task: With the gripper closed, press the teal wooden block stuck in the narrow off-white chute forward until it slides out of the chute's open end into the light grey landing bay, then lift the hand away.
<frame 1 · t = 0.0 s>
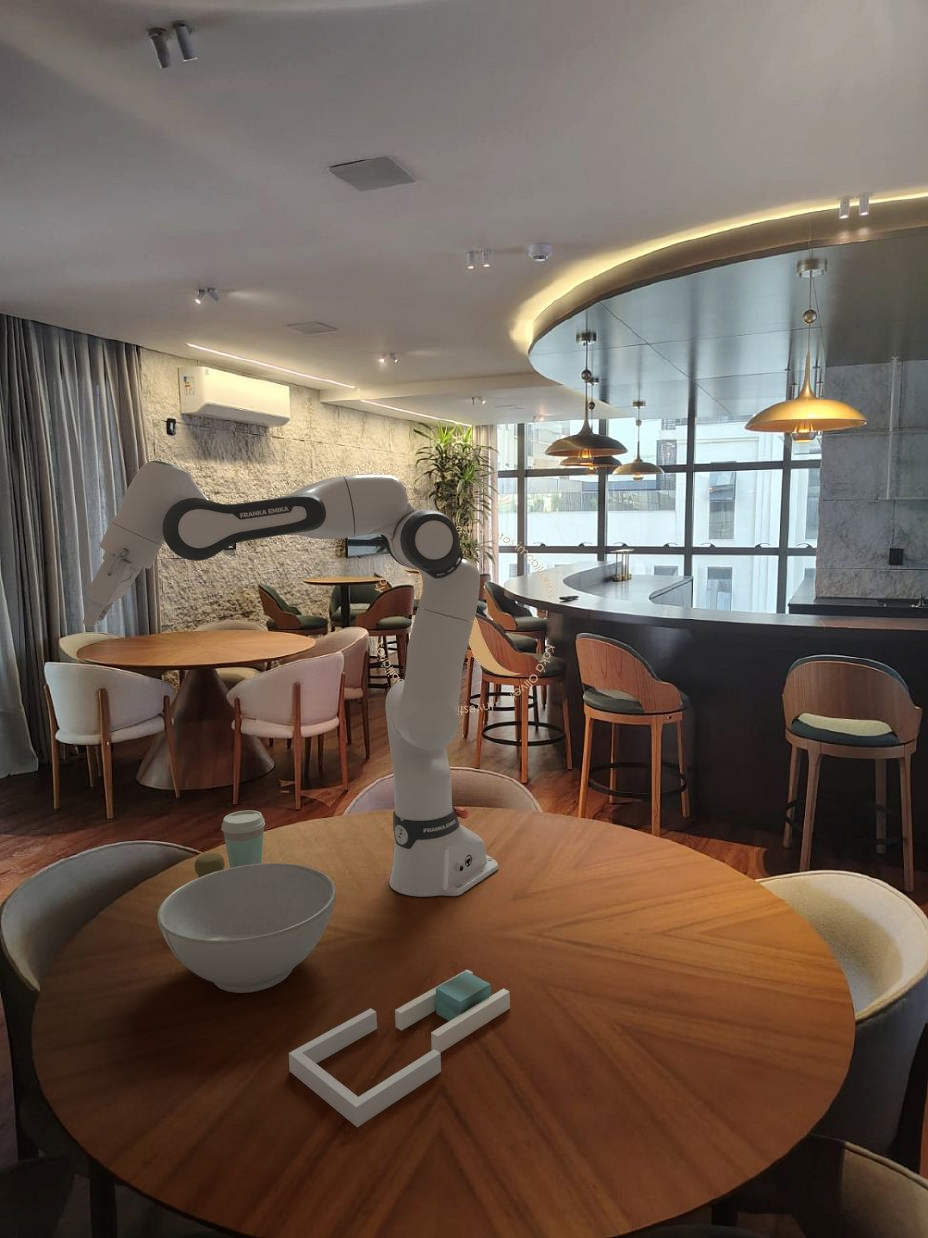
hand: (92, 622, 137), 54 cm above the table, tool tilted 30°, fingers open, 8 cm apart
teal block: (464, 1012, 115), on the table
coffee cup: (246, 874, 164), on the table
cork: (213, 914, 148), on the table
landing bay: (368, 1069, 104), on the table
decorative bowl: (253, 972, 128), on the table
chute: (453, 1017, 114), on the table
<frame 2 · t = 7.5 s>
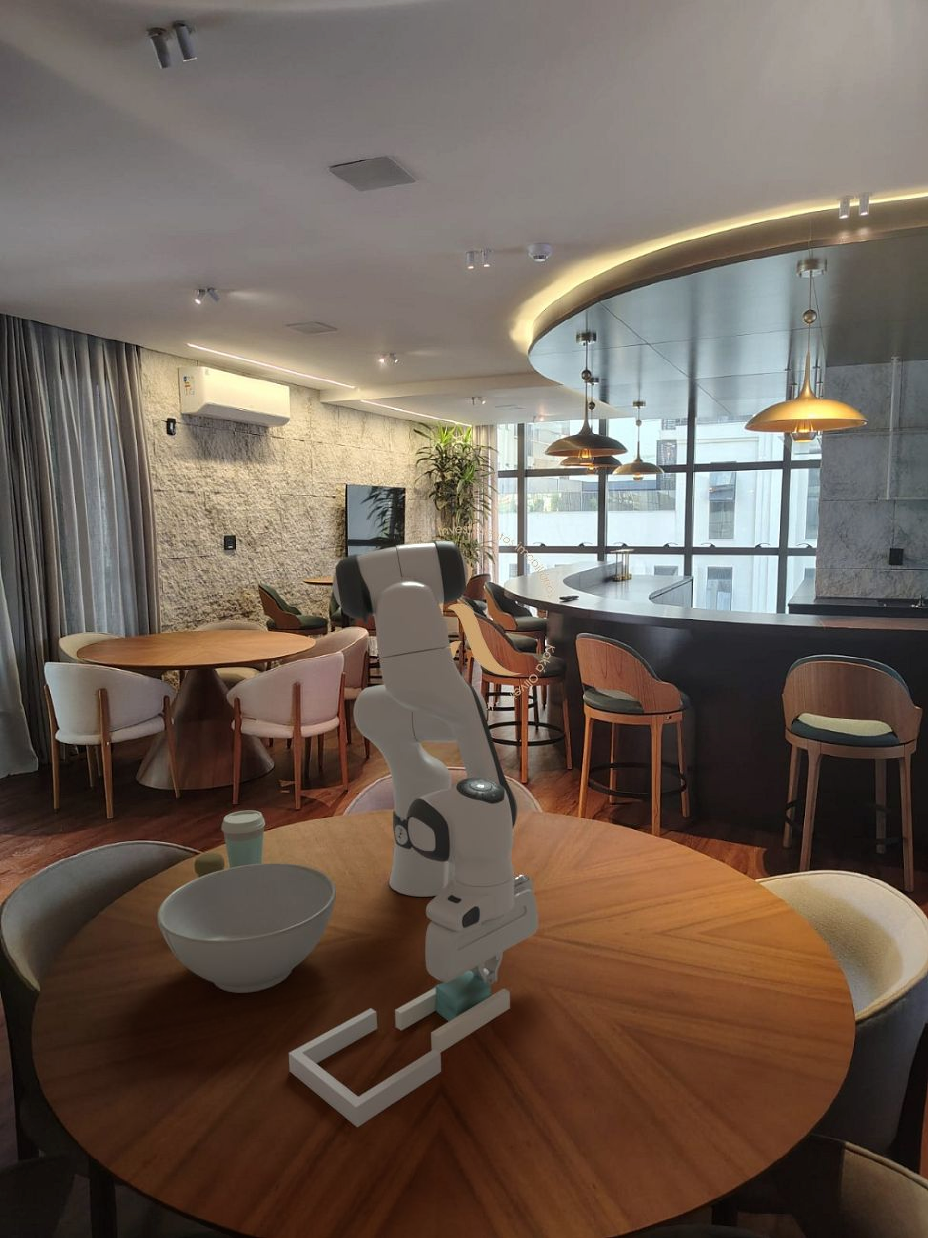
hand: (486, 984, 118), 2 cm above the table, tool pointing down, fingers closed
teal block: (463, 1012, 115), on the table, touching gripper
everything else where it was.
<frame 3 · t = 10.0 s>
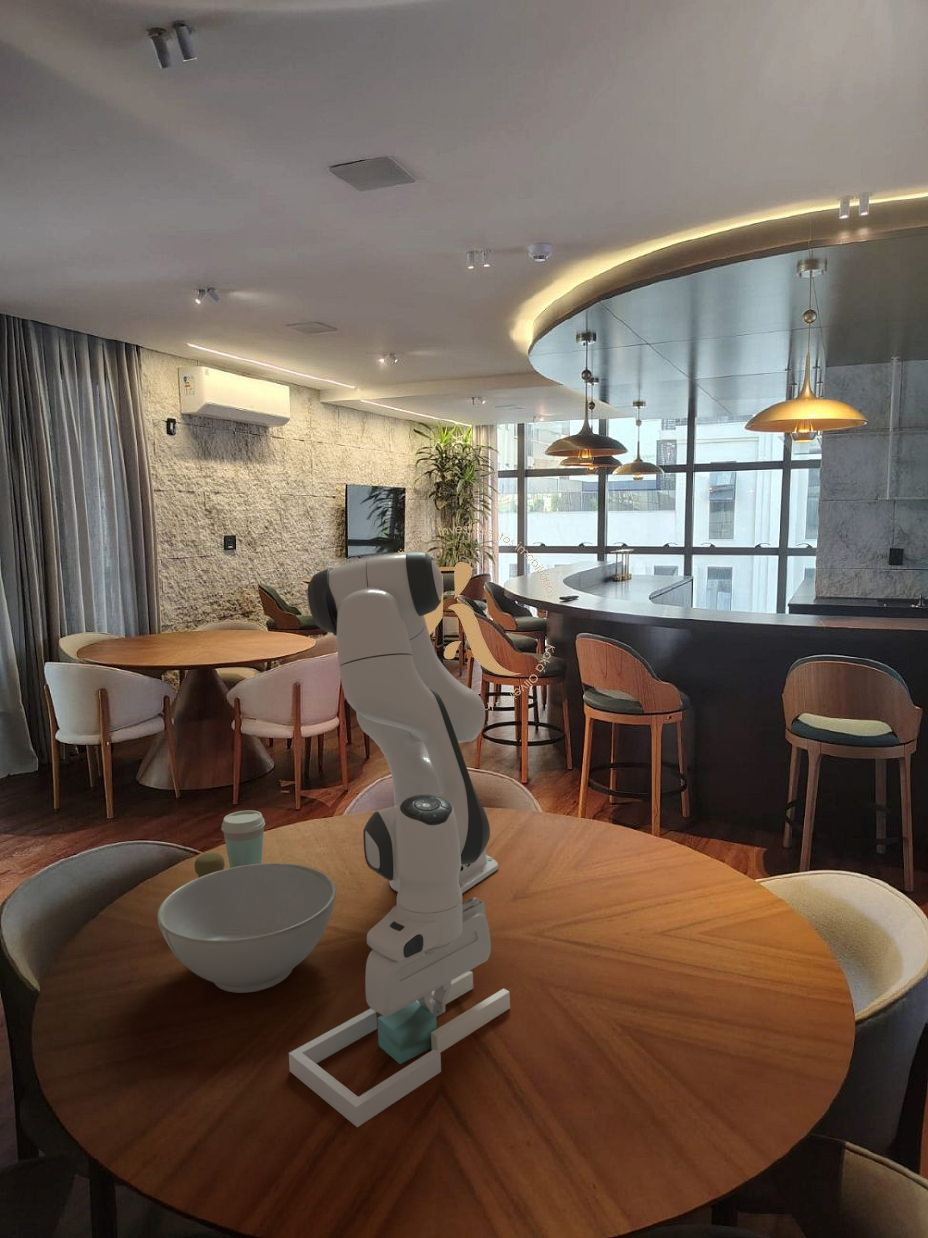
hand: (433, 1015, 111), 2 cm above the table, tool pointing down, fingers closed
teal block: (407, 1045, 108), on the table, touching gripper
everything else where it was.
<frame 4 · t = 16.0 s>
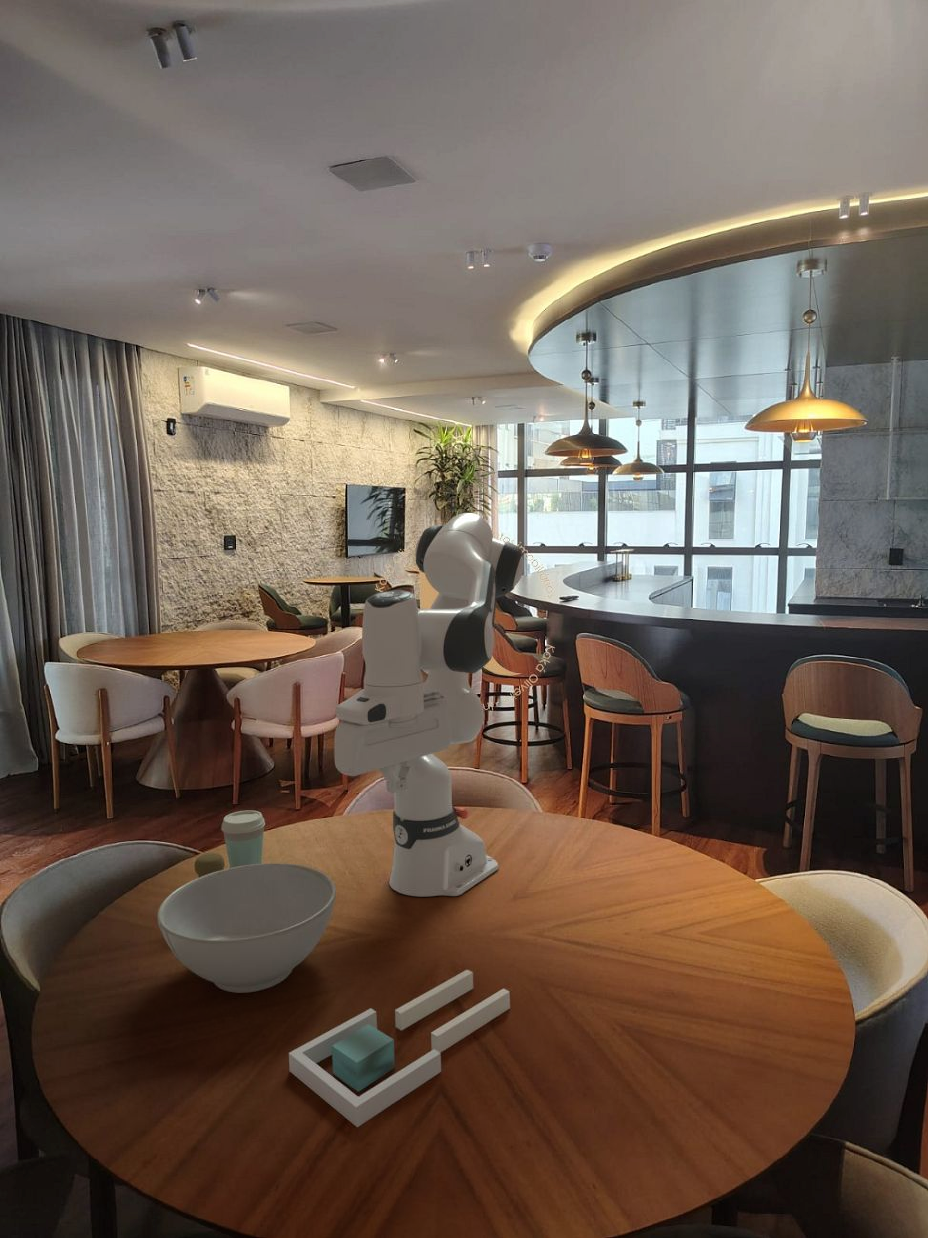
hand: (397, 790, 123), 29 cm above the table, tool pointing down, fingers closed
teal block: (364, 1072, 103), on the table
everything else where it was.
at the end: teal block inside the target area (0.7 cm from its centre), on the table; teal block tilted 0° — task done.
